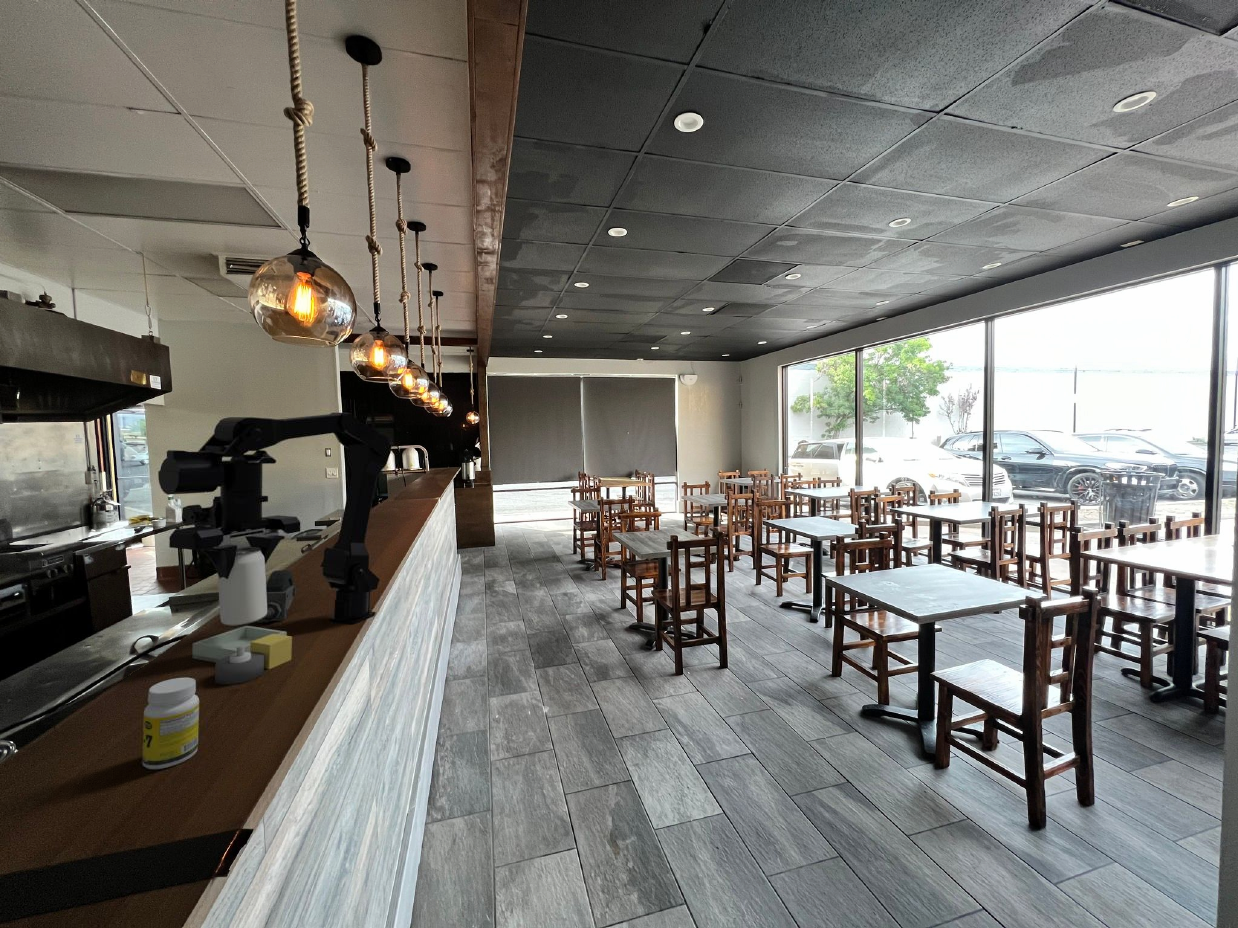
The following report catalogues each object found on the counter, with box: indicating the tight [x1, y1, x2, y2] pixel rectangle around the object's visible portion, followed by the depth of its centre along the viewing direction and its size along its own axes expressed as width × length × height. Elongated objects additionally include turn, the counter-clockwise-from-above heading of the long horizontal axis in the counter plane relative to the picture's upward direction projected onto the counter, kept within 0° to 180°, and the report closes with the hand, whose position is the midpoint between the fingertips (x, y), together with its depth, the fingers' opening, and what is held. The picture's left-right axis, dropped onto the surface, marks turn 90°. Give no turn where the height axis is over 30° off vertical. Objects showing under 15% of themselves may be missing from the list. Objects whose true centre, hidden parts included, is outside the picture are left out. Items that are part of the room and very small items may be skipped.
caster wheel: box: [256, 569, 297, 624], centre depth 104 cm, size 6×10×15 cm
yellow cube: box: [250, 634, 293, 670], centre depth 82 cm, size 4×4×4 cm
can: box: [217, 546, 267, 627], centre depth 85 cm, size 6×6×12 cm
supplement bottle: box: [141, 677, 200, 770], centre depth 56 cm, size 5×5×8 cm
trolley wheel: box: [214, 646, 265, 685], centre depth 77 cm, size 6×6×4 cm
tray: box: [192, 625, 288, 663], centre depth 86 cm, size 9×9×2 cm
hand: (241, 580), depth 85 cm, fingers closed on can, 5 cm apart
